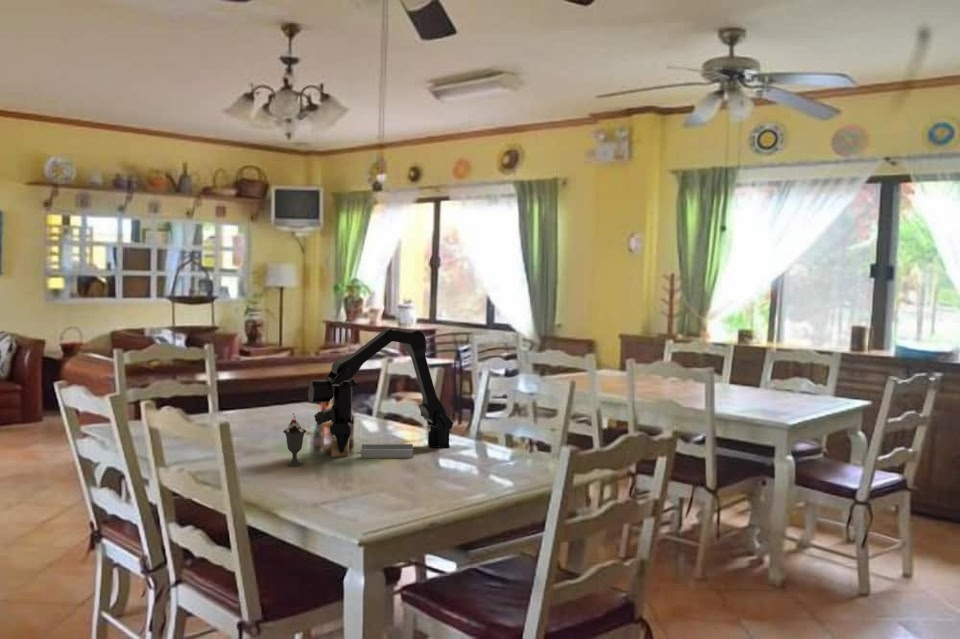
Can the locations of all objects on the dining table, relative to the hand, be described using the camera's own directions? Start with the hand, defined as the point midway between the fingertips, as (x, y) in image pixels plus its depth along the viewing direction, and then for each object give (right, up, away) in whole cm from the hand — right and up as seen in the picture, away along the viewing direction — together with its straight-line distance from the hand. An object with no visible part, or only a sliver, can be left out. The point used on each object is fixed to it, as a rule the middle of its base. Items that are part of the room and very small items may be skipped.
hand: (341, 450), depth 263 cm
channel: (+14, -2, +1) cm, 14 cm away
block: (-1, -1, 0) cm, 1 cm away
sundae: (-12, -2, -14) cm, 18 cm away
